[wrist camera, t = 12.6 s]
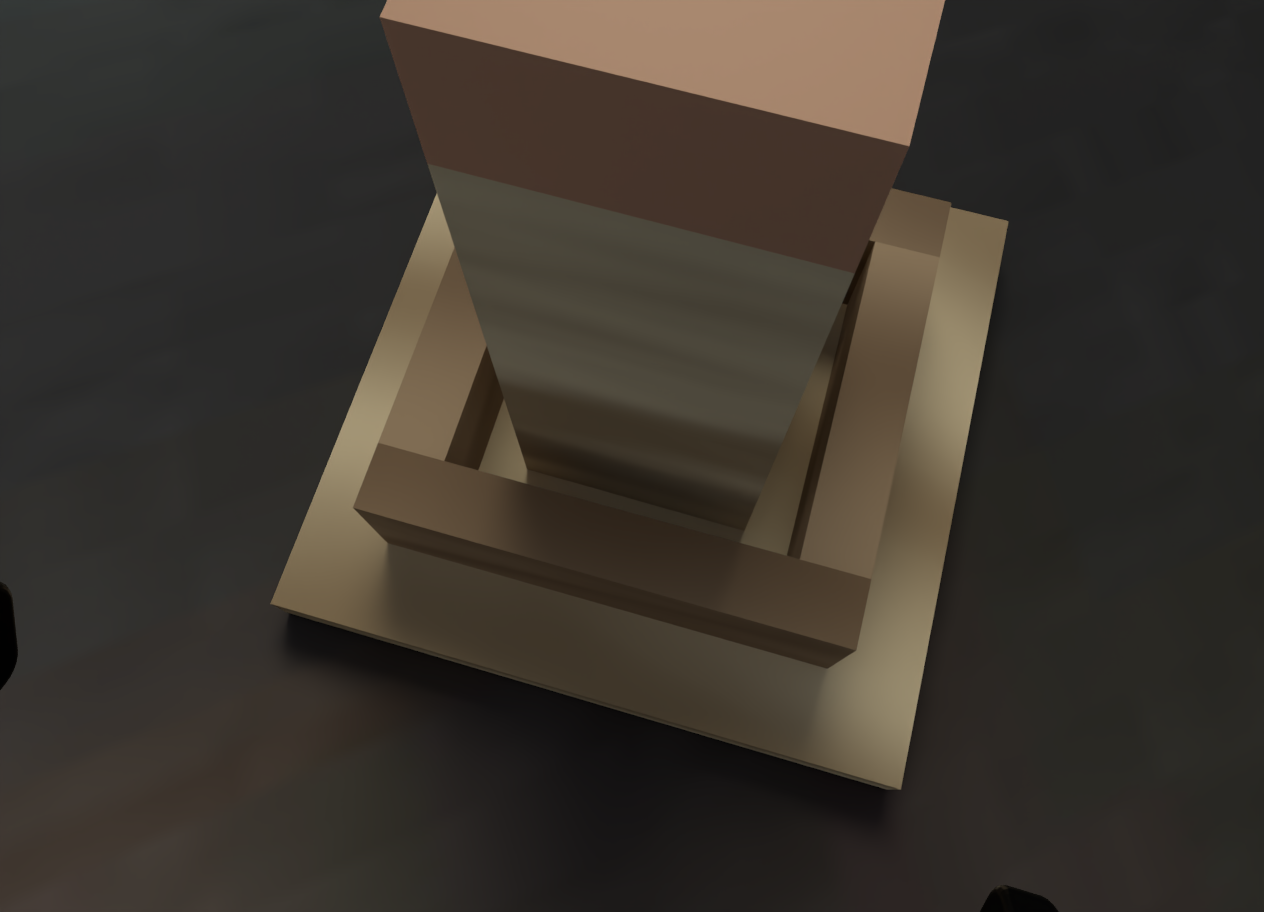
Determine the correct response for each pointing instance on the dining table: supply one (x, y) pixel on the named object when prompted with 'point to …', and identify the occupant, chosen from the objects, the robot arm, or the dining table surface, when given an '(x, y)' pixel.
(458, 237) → the birch post
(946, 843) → the dining table surface
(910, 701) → the socket stand
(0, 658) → the robot arm
